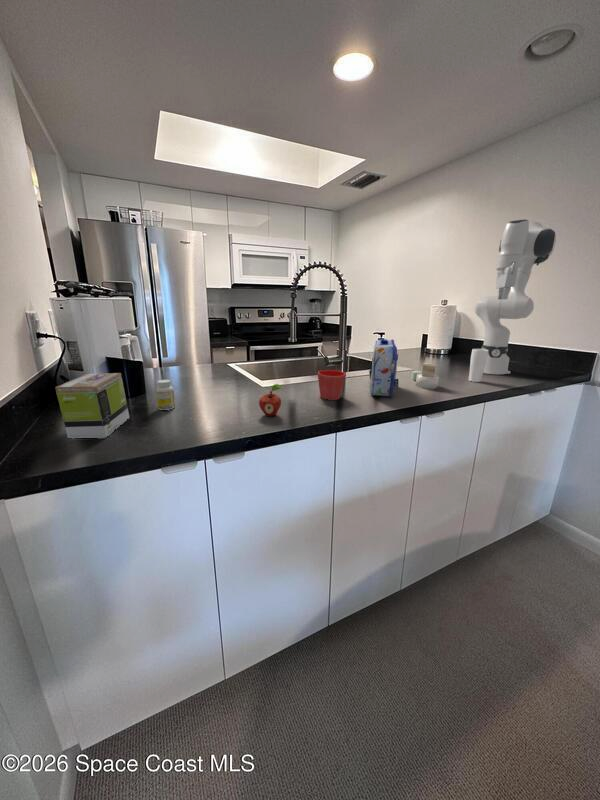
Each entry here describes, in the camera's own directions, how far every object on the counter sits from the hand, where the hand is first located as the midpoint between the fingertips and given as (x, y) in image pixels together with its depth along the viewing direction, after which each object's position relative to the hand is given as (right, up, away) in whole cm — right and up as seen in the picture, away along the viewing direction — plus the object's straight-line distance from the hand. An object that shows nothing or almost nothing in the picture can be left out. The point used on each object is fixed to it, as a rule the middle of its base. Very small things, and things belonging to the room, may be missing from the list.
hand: (502, 299), depth 133 cm
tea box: (-142, -51, -43) cm, 157 cm away
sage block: (-30, -33, +18) cm, 48 cm away
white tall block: (-2, -34, +17) cm, 38 cm away
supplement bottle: (-131, -46, -26) cm, 141 cm away
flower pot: (-74, -42, -11) cm, 85 cm away
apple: (-95, -48, -30) cm, 110 cm away
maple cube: (-29, -32, +5) cm, 44 cm away
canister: (-29, -37, +7) cm, 47 cm away
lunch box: (-51, -39, -2) cm, 65 cm away
